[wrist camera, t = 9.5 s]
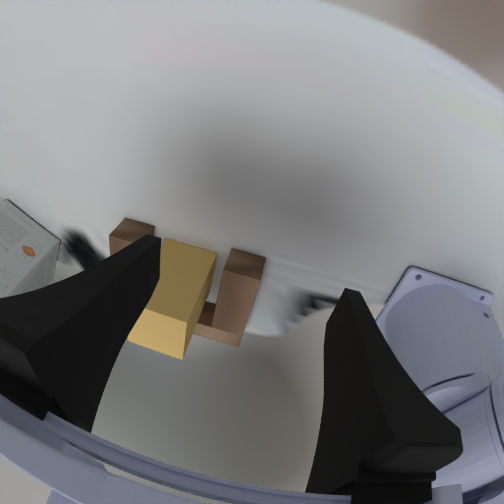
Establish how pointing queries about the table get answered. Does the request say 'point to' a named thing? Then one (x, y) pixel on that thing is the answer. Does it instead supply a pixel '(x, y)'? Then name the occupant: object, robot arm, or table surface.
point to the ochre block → (175, 299)
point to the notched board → (230, 293)
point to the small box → (24, 253)
